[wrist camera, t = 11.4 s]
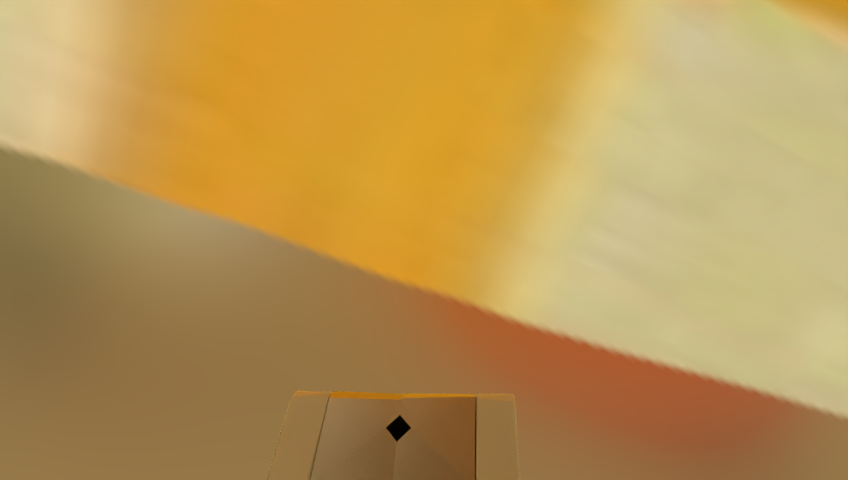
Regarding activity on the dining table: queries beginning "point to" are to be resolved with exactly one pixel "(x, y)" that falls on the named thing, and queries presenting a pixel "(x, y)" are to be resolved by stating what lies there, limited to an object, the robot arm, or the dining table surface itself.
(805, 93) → the dining table surface
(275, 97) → the dining table surface
